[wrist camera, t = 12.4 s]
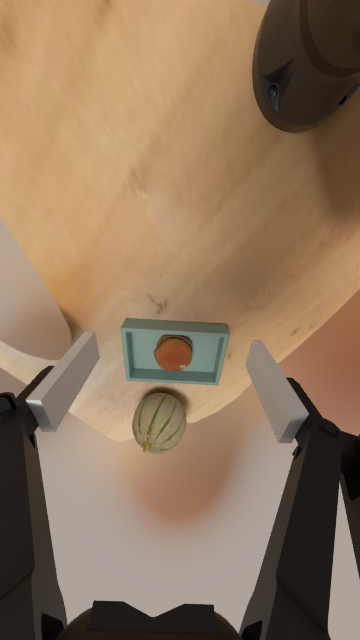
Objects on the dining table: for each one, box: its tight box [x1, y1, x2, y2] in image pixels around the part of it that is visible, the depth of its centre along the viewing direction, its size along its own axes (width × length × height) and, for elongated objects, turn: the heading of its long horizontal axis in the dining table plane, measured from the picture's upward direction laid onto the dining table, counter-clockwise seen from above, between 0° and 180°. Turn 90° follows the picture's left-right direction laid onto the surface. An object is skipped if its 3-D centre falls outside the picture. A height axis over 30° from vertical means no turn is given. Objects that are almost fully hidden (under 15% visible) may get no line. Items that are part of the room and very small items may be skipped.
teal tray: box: [121, 318, 230, 385], centre depth 47 cm, size 16×24×4 cm, turn 87°
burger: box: [154, 334, 193, 371], centre depth 46 cm, size 10×9×5 cm
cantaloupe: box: [132, 393, 186, 454], centre depth 52 cm, size 15×15×15 cm
